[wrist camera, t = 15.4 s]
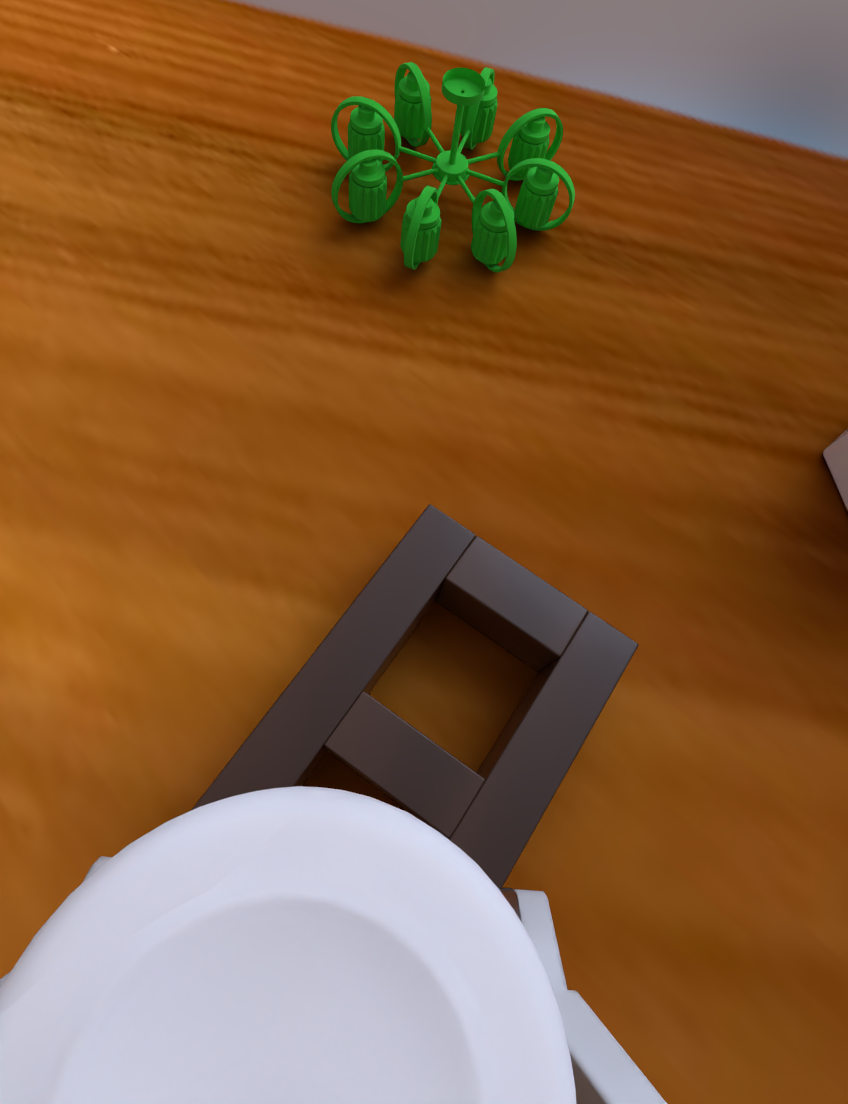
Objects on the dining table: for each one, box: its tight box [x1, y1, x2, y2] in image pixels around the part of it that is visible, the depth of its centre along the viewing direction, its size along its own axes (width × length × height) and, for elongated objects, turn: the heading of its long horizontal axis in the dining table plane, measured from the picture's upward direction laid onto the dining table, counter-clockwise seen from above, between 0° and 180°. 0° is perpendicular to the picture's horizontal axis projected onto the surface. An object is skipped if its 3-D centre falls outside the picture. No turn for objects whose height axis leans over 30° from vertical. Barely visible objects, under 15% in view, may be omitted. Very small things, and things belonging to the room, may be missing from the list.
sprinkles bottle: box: [0, 786, 576, 1104], centre depth 11 cm, size 5×5×13 cm
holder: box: [191, 505, 638, 888], centre depth 26 cm, size 11×19×4 cm, turn 146°
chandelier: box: [331, 62, 575, 272], centre depth 37 cm, size 15×15×7 cm
